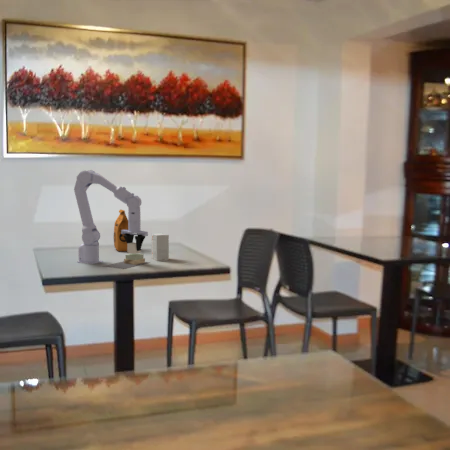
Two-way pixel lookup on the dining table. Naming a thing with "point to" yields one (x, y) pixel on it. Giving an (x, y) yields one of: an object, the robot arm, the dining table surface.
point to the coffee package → (120, 225)
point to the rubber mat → (123, 265)
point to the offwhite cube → (132, 248)
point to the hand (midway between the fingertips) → (134, 250)
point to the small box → (160, 247)
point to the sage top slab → (134, 256)
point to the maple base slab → (134, 261)
